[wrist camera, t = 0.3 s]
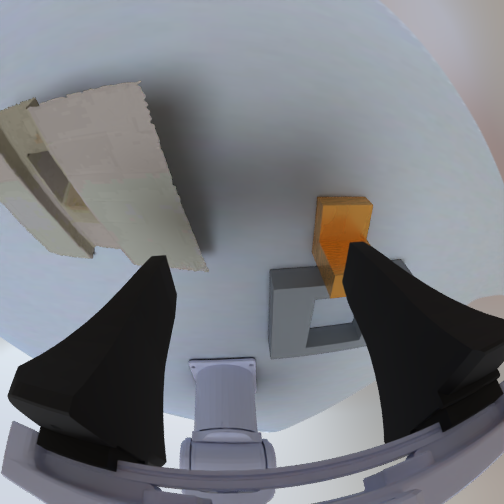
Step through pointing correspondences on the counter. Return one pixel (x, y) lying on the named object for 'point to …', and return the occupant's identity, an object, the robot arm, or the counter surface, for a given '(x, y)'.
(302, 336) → the well block
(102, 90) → the beige footed plank
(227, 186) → the counter surface
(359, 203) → the wooden step block
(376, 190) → the counter surface
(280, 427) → the counter surface
